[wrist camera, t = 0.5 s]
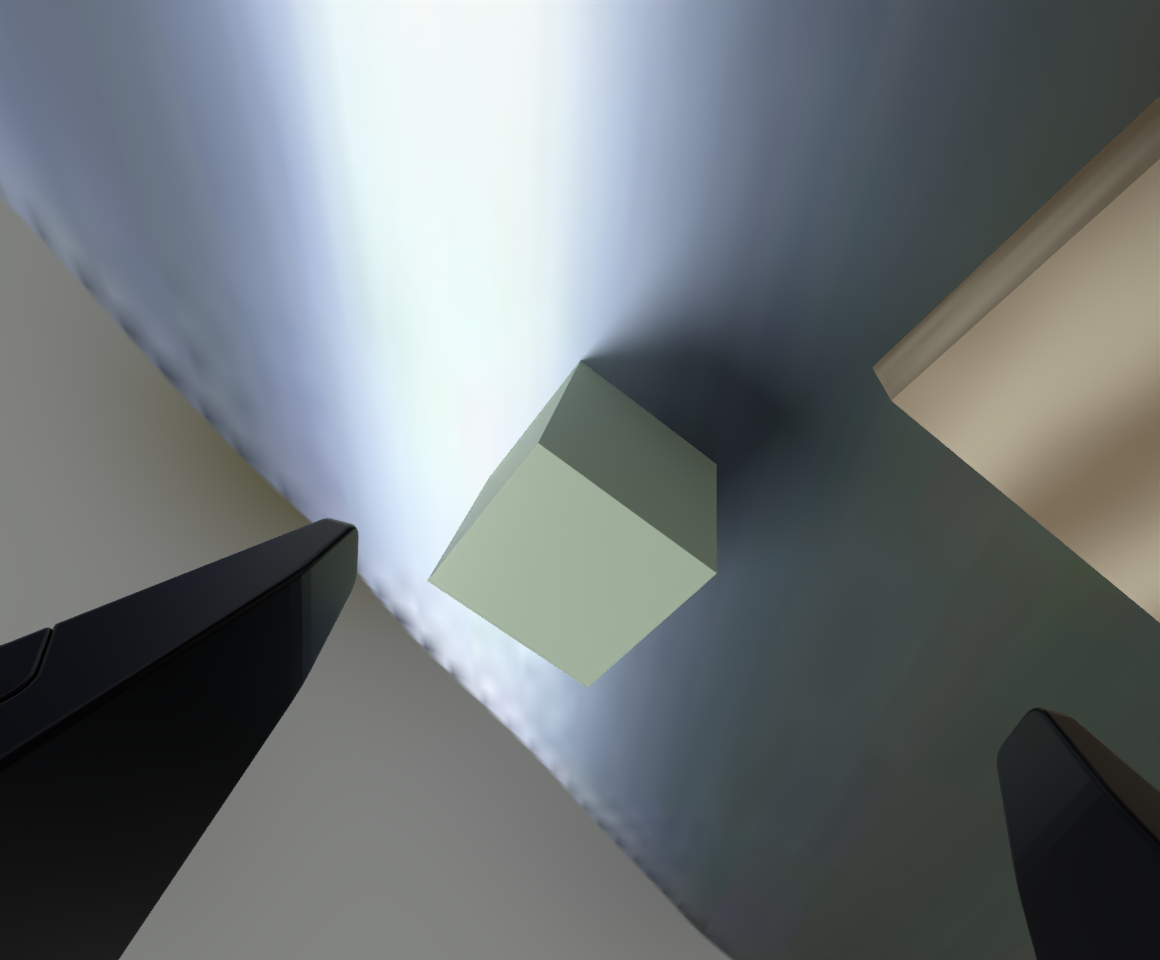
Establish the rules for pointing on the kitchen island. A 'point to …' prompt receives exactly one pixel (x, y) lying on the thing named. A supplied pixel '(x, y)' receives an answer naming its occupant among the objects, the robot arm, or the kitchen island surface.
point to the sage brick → (586, 530)
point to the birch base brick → (1061, 364)
